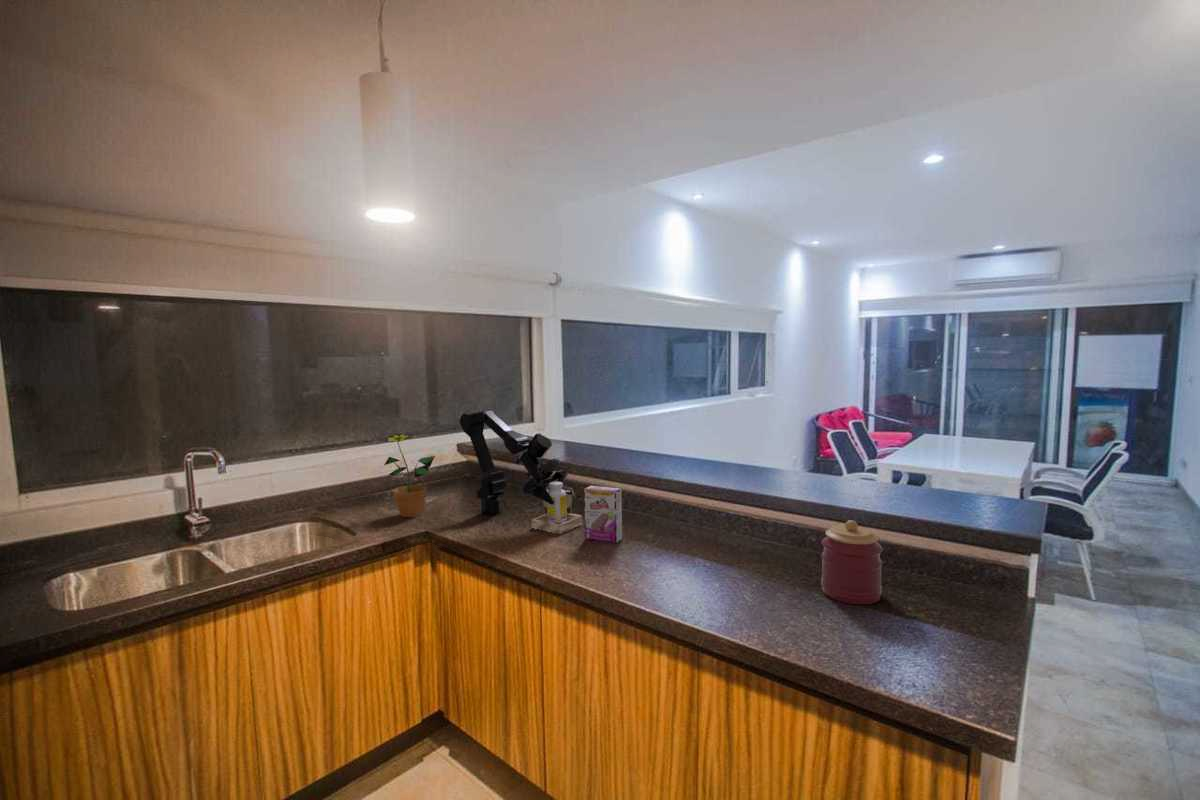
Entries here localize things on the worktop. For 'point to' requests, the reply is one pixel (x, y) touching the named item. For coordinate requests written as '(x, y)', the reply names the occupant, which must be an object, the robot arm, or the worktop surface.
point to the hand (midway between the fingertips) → (559, 501)
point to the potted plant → (410, 495)
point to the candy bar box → (603, 514)
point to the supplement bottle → (557, 503)
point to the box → (557, 527)
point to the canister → (851, 564)
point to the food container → (568, 499)
